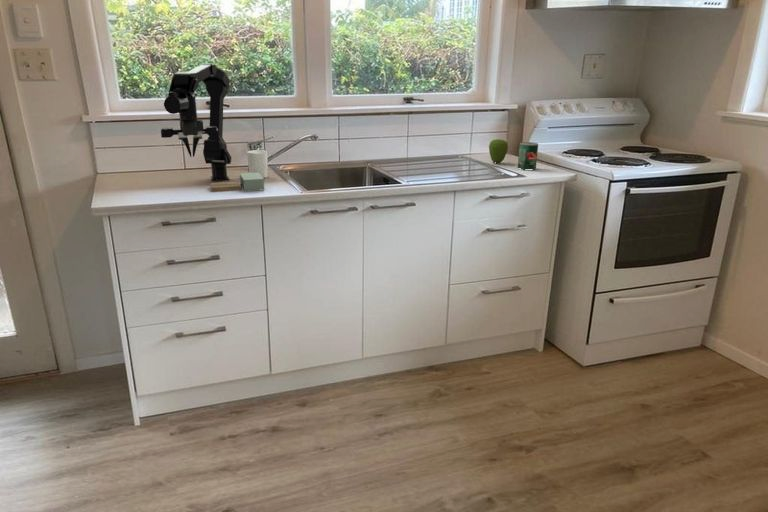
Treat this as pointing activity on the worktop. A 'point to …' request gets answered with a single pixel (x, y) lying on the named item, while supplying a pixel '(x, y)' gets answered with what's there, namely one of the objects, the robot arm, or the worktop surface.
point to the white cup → (258, 162)
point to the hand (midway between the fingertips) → (192, 156)
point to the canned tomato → (527, 155)
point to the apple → (498, 150)
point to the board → (225, 186)
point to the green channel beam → (252, 181)
